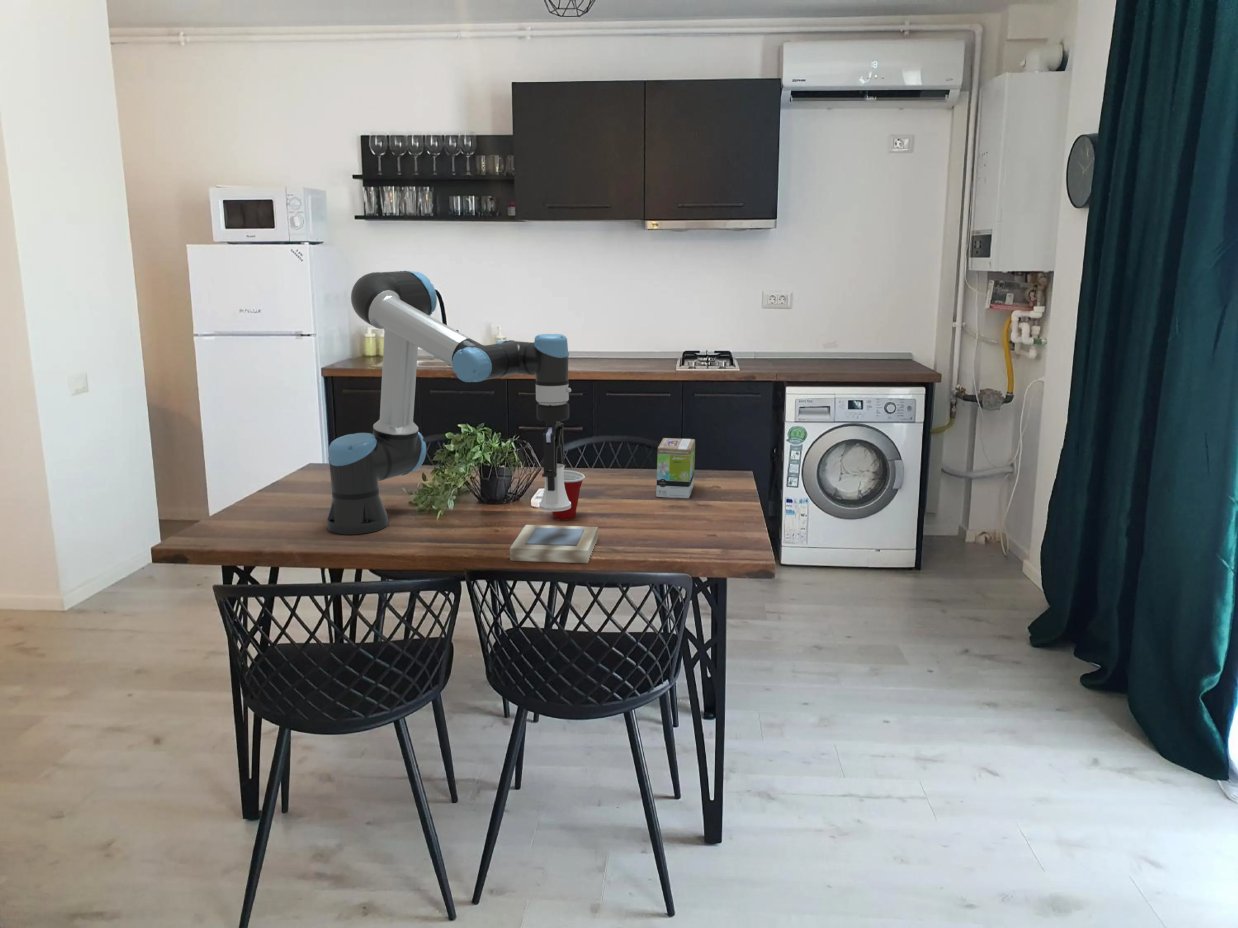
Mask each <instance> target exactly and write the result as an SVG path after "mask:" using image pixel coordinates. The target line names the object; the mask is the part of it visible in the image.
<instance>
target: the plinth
mask: <svg viewBox="0 0 1238 928" xmlns="http://www.w3.org/2000/svg"><path fill="white" fill-rule="evenodd" d="M597 539H598V540H599V527H598V526H584V525H583V526H580V525H550V524H549V525H548V524H547V525H545V524H525V525H524V527H523V528H522V530H521V531H520V533H519V534H518V536H517V537H516V539H515V540H514V541H513V543H512V544H511V546H510V547H509V560H510V561H513V562H514V561H515V562H516V561H517V562H539V563H540V562H541V563H542V562H544V563H545V562H546V563H569V564H571V563H573V564H588V563H589V562H590V559H591V557H590V555H591V556H592V554H593V552H592V551H594V550H593V549H594V548H595V547H596V545H595V544H597V542H598V540H597ZM594 546H595V547H594ZM591 553H592V554H591ZM589 558H590V559H589Z"/></svg>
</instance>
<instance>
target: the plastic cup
mask: <svg viewBox="0 0 1238 928" xmlns="http://www.w3.org/2000/svg"><path fill="white" fill-rule="evenodd" d="M584 480H585V475H584V474H583V473H582V472H579V471H576V470H568V469H564V486H565V490H566V494H567V497H568V499H569V501H570V502H571V508H570V509H567V510H564V511H551V513H552V516H553V518H554V519H555V520H558V521H570V520H571V521H572V520H574V519H575V518H576V514H577V507H578V503H579V502H578V501H579V497H580V492H581V487H582V484H583V482H584Z"/></svg>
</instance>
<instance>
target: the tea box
mask: <svg viewBox="0 0 1238 928" xmlns="http://www.w3.org/2000/svg"><path fill="white" fill-rule="evenodd" d="M656 454H657V457H656V458H657V459H656V460H657V461H656V485H655V486H656V492H655V495H656V497H657V498H670V499H671V498H672V499H690V496H691V494H692V491H693V488H694V485H695V461H696V459H695V457H696V455H695V454H696V439H694V438H676V437H675V438H673V437H672V438H671V437H663V438H662V440H661V442H660V443H659V445H658V447H657V453H656Z"/></svg>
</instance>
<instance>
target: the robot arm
mask: <svg viewBox="0 0 1238 928" xmlns="http://www.w3.org/2000/svg"><path fill="white" fill-rule="evenodd" d="M437 296H438V295H437V292H436V289H435V286H434V285H433V283H432V282H431V280H430V278H428V276H427V275H425V274H423V273H422V272H419V271H412V270H400V271H399V270H397V271H396V270H395V271H382V272H381V271H375V272H374V271H373V272H369V273H366V274H364V275H363V276H361V277H359V278H358V279H357V280H356V281H355V283H354V285H353V287H352V289H351V293H350V302H351V305H352V308H353V311H354V313H356V314H357V316H358V317H359V318H360V319H361V320H363V321H364V322H365V323H367V324H369V325H370V326H372V327H373V328H376V329H378V330H379V329H380V330H383V331H384V332H383V334H384V335H383V348H382V350H383V351H382V369H381V389H380V408H379V419H378V420H377V421H376V422H374V424H373V426H372V433H370V432H356V433H350V434H349V433H348V434H344V435H343V436H339V437H336V439H334V440H332V441H331V442H330V444H329V447H328V459H327V460H328V463H329V470H330V471H329V473H330V475H329V476H330V485H331V498H332V499H331V503H330V507H329V510H328V515H327V519H326V527H327V530H328V531H329V532H331V533H334V534H338V535H361V534H362V535H364V534H369V533H374V532H377V531H380V530H383V529H385V528H386V527H387V526H388V525H389V517H388V513H387V510H386V507H385V506H384V504H383V501H382V499H381V496H380V485H379V482H380V481H384V480H389V479H392V478H395V477H399V476H405V475H408V474H410V473H412V472H415V471H416V470H418V469H419V468H420V467H421V466H422V464H423V463H424V462H425V458H426V456H427V443H426V442H425V441H424V439H425V438H424V436H423V435H422V433H420V432H419V426H418V425H417V424H416V423H415V422H414V414H415V397H416V385H417V383H416V381H417V380H416V379H417V369H418V368H417V366H418V350H419V349H421V350H423V351H425V352H426V353H428V354H430V355H432V356H434V357H436V358H437V359H439V360H441V361H442V362H444V363H446V364H447V365H449V366H451V367H452V370H453V372H454V374H455V375H456V377H457V379H459V380H460V381H462V382H464V383H480V382H482V381H487V380H491V379H492V380H493V379H497V378H503V377H504V378H505V377H508V376H514V375H527V376H528V375H529V376H530V375H531V376H535V401H536V402H537V404H536V419H537V420H538V421H541V422H545V427H543V433H542V441H543V442H542V443H543V473H541V478H545V477H546V504H558V476H557V464H562V465H564V469H565V468H567V463H565V450H564V449H565V448H564V447H565V444H564V421H567V420H569V418H570V404H569V402H568V401H569V400H570V395H569V394H570V393H571V392H572V389H571V387H569V385H570V384H569V355H570V352H569V348H568V347H569V346H568V343H569V342H568V338H567V336H565V334H562V333H541V334H537V335H535V336H534V342H533V341H532V342H528V341H518V340H510V339H509V340H499V341H497V342H496V343H493V344H486V345H485V344H481V343H480V342H478V341H476V340H473V339H472V338H470V337H468V336H467V335H465V334H464V333H461V332H459V331H458V330H456V329H454V328H452V327H450V326H449V325H447V324H445V323H444V322H441V321H440V320H438V319H436V318H434V317H432V316H431V315H432V314H433V312H435V311H436V309H437V308H436V307H437V304H438V302H437V301H438V298H437Z"/></svg>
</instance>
